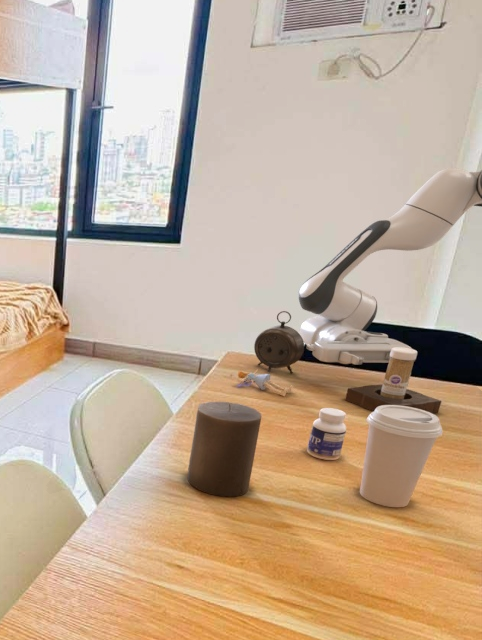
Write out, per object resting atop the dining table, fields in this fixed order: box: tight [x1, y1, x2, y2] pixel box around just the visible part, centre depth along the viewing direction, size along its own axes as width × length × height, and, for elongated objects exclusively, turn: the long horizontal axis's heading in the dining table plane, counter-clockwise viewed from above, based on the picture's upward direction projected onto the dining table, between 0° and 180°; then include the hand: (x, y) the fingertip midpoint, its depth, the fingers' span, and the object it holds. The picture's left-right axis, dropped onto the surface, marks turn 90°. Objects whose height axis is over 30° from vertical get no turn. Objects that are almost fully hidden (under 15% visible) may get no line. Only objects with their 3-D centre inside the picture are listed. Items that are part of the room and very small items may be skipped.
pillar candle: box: [187, 401, 262, 498], centre depth 107 cm, size 10×10×15 cm
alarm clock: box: [253, 310, 305, 375], centre depth 165 cm, size 11×5×16 cm, turn 34°
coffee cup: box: [359, 405, 443, 508], centre depth 101 cm, size 10×10×15 cm
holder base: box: [344, 383, 442, 415], centre depth 141 cm, size 12×12×3 cm
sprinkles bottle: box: [380, 347, 418, 399], centre depth 140 cm, size 5×5×14 cm
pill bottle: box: [306, 407, 347, 461], centre depth 118 cm, size 5×5×9 cm
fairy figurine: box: [235, 369, 293, 397], centre depth 154 cm, size 12×5×12 cm
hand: (381, 361), depth 145 cm, fingers open, 8 cm apart
